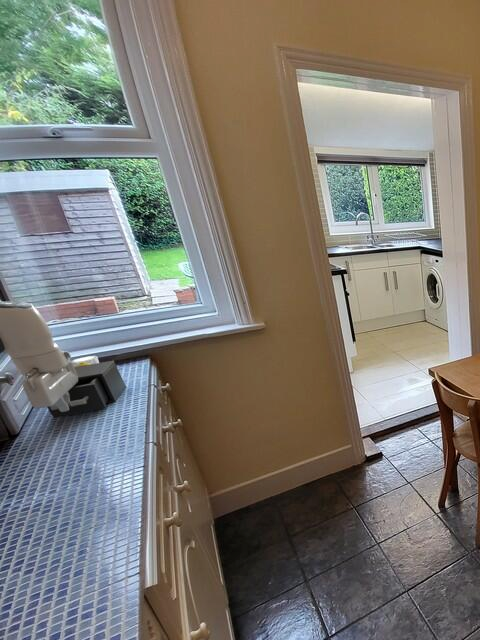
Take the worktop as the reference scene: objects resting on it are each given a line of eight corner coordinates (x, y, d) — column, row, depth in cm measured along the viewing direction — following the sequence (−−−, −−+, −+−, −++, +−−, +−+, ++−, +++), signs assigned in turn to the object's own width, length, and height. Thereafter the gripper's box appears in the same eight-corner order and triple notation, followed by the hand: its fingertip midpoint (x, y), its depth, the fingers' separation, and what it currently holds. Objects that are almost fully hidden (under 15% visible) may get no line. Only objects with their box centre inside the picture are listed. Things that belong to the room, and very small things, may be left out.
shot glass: (84, 375, 151) (75, 357, 148) (108, 371, 153) (99, 354, 150) (76, 382, 145) (67, 363, 142) (101, 377, 148) (92, 359, 145)
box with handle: (115, 401, 128) (101, 373, 124) (61, 412, 123) (44, 383, 119) (126, 386, 139) (113, 360, 135) (76, 396, 133) (62, 368, 129)
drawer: (101, 413, 119) (89, 389, 116) (47, 424, 114) (33, 399, 110) (116, 393, 132) (105, 370, 129) (69, 402, 127) (56, 379, 124)
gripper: (41, 372, 101) (68, 421, 107) (71, 350, 117) (93, 393, 123) (5, 378, 98) (35, 428, 104) (41, 354, 114) (65, 399, 120)
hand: (67, 409), depth 113 cm, fingers closed
